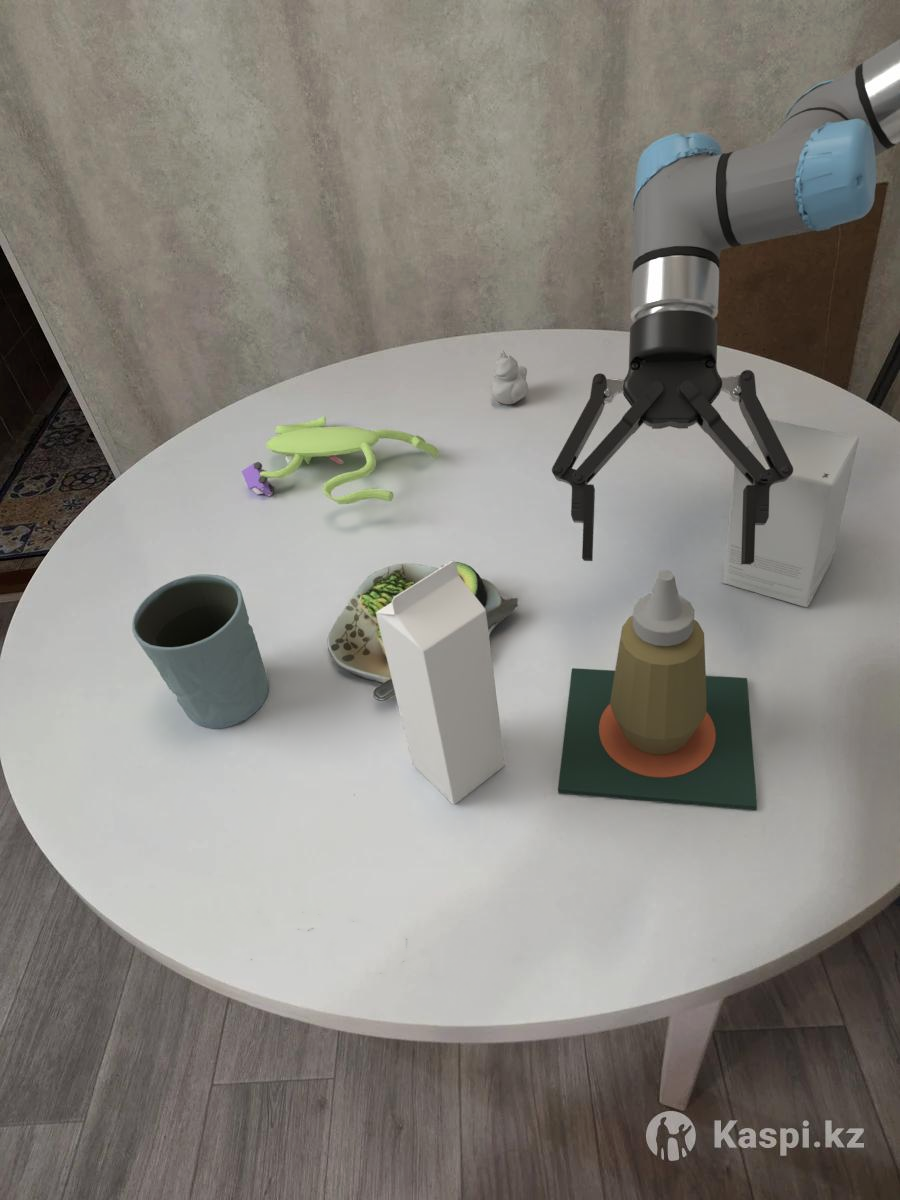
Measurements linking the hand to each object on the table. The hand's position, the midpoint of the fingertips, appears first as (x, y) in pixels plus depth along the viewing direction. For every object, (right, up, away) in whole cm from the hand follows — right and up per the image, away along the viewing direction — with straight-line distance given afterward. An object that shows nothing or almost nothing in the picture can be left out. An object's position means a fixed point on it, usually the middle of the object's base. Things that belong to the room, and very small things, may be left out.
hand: (665, 561), depth 76 cm
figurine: (-33, +13, +38) cm, 52 cm away
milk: (-18, -18, +1) cm, 26 cm away
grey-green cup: (-41, -13, +11) cm, 45 cm away
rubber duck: (-10, +25, +48) cm, 55 cm away
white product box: (+15, 0, +15) cm, 21 cm away
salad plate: (-22, -6, +15) cm, 27 cm away
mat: (-1, -15, +1) cm, 15 cm away
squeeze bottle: (-1, -15, +1) cm, 15 cm away
